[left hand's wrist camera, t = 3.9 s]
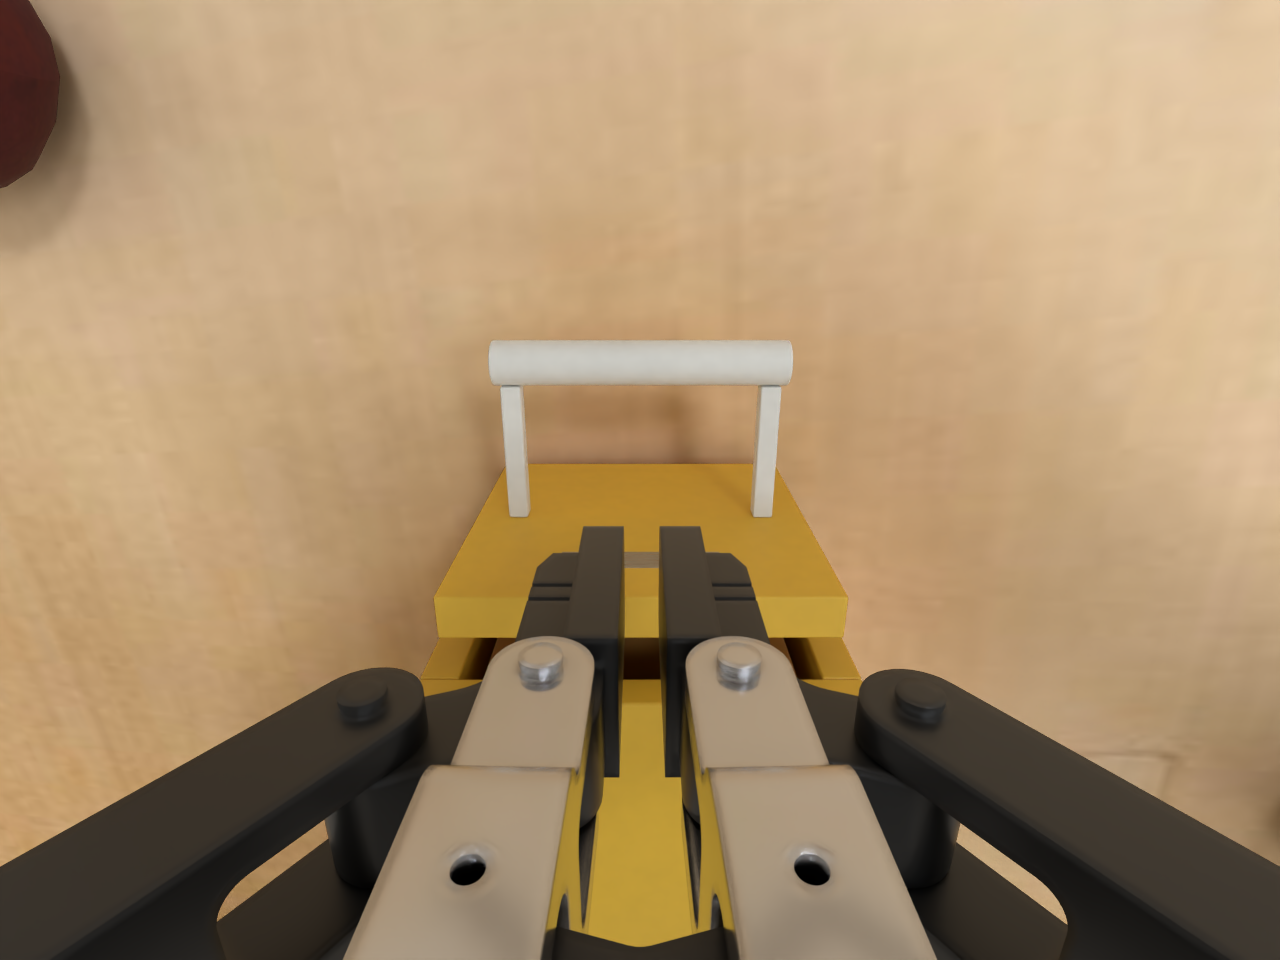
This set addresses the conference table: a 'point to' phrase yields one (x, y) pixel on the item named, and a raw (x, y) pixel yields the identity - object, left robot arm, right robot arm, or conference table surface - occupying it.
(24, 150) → the potato
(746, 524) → the drawer
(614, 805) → the yellow box
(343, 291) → the conference table surface
